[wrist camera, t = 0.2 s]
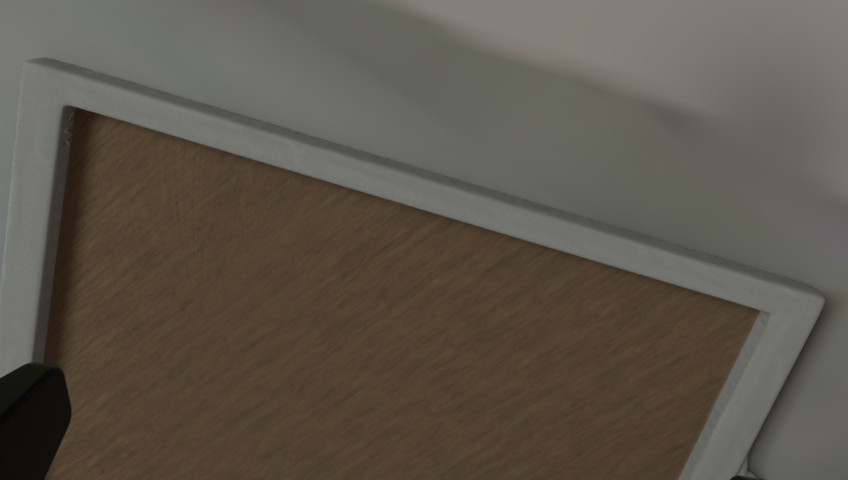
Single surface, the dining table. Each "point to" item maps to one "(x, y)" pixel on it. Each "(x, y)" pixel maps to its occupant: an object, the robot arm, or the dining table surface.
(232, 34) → the dining table surface
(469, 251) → the picture frame
